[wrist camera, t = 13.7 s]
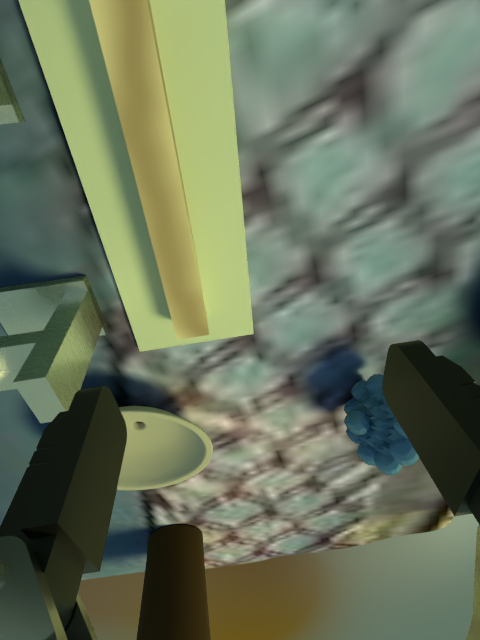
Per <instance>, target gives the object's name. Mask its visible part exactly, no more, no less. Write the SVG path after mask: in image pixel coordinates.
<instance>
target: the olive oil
mask: <svg viewBox="0 0 480 640" xmlns="http://www.w3.org/2000/svg"><path fill="white" fill-rule="evenodd" d="M137 640H211V639H210V628H209V617H208V605H207V593H206V580H205V566H204V550H203V536H202V532H201V531H200V530H199V529H198V528H196V527H194V526H191V525H183V524H179V525H170V526H166V527H163V528H160V529H158V530H156V531H155V532H153V533H152V534H151V536H150V538H149V543H148V552H147V561H146V570H145V578H144V586H143V594H142V602H141V610H140V618H139V625H138V633H137Z"/></svg>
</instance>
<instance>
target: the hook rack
mask: <svg viewBox="0 0 480 640" xmlns="http://www.w3.org/2000/svg"><path fill="white" fill-rule="evenodd" d="M23 121H25V120H24V118H23V115H22V113H21V110H20V108H19V105H18V103H17V100H16V98H15V95H14V93H13V90H12V87H11V85H10V82H9V80H8V77H7V75H6V72H5V70H4V67H3V65H2V62H1V60H0V124H8V123H17V122H23ZM0 323H1V324H2V326H3V328H4V329H5V331H6V332H7V334H8V336H1V337H0V391H5V390H11V389H18V391H19V392H20V394H21V395H22V397H23V398H24V400H25V401H26V403H27V404H28V406H29V407H30V409H31V410H32V412H33V413H34V414H35V416H36V417H37V419H38V420H39V422H40V423H46V422H52V420H53V419H54V418H55V417H56V416H57V415H58V414H59V413H60V412H64V411H68V410H69V407H70V405H71V402H72V400H73V398H74V395H75V393H76V392H77V391H78V390H80V389H81V386H82V383H83V380H84V377H85V375H86V372H87V369H88V366H89V363H90V360H91V357H92V355H93V352H94V349H95V346H96V343H97V340H98V337H99V336H101V335H106V332H107V326H106V324H105V321H104V318H103V316H102V313H101V311H100V308H99V306H98V303H97V301H96V298H95V296H94V293H93V291H92V288H91V286H90V283H89V281H88V278H87V276H86V275H85V276H78V277H71V278H64V279H57V280H50V281H43V282H36V283H29V284H22V285H15V286H7V287H0Z"/></svg>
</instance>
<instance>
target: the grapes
mask: <svg viewBox="0 0 480 640" xmlns="http://www.w3.org/2000/svg"><path fill="white" fill-rule="evenodd" d="M382 381H383V375H381V374H374V375H373V376H371V377H369V379H368V380H367V381H365V380H362V381H358V382H357V383H355V384H354V386H353V387H352V390H351V393H352V395H353V397H354V398H352V399H350V400H349V401H348V402H347V403H346V405H345V408H344V410H345V412H346V414H347V416H346V418H345V421H344V422H345V424H346V426H347V430H346V433H347V435H348V437H349V438H350V439H351V440H352V441H353V442H355V443H356V444H360V445H359V446H358V450H357V454H358V455H359V457H360V458H361V459H362V461H363V462H365V463H366V464H368V465H373V466H375V465H376V466H377V468H378V469H379V470H380V471H381V472H383V473H384V474H386V475H392V476H393V475H395V474H398V473H399V471H400V470H401V468H402V465H406V466H410V465H412V464H415V463H416V461H417V460H418V458H419V456H418V454H417V453H416V451H415V449H414V448H413V446H412V444H411V443H410V441H409V439H408V438H407V436H406V434H405V433H404V431H403V429H402V428H401V426H400V424H399V423H398V421H397V419H396V418H395V416H394V414H393V413H392V411H391V409H390V408H389V406H388V404H387V402H386V400H385V398H384V394H383V389H382Z"/></svg>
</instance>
